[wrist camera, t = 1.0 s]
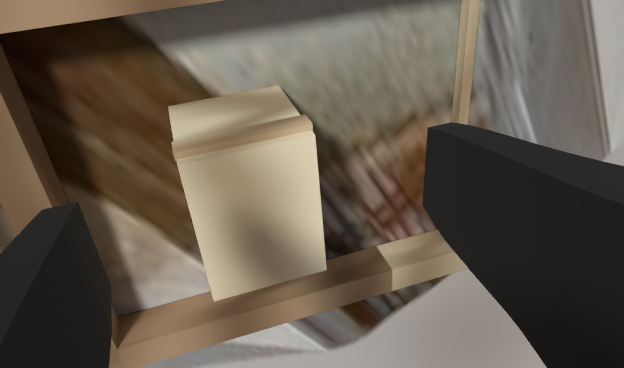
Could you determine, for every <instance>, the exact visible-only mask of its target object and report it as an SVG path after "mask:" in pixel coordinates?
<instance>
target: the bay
mask: <svg viewBox="0 0 624 368" xmlns="http://www.w3.org/2000/svg"><path fill="white" fill-rule="evenodd" d="M217 1H224V0H0V34H2V33H9V32H16V31H23V30H29V29H36V28H43V27H49V26H56V25H63V24H70V23H76V22H83V21H90V20H96V19H103V18H110V17H116V16H123V15H130V14H137V13H143V12H150V11H157V10H163V9H170V8H177V7H184V6H190V5H197V4H204V3H210V2H217ZM479 9H480V0H462V2H461V14H460V26H459V38H458V50H457V62H456V74H455V86H454V98H453V110H452V121H451V123H452V122H454V123H461V124H466V125H468V115H469V105H470V96H471V86H472V77H473V67H474V57H475V48H476V38H477V29H478V19H479ZM0 204H1V206H2V208H3V210H4V212H5V214H6V216H7V218H8V220H9V222H10V223H11V225H12V227H13V229H14V231H15V233H16V235H18V234H19V233H20V232H21V231H22V230H23V229H24V228H25V227H26V226H27V224H28V223H29V222H30V221H31V220H32V219H33V218H34V217H35V216H36V215H37V214H38V213H39V212H40V211H41V210H42V209H47V208H52V207H57V206H61V205H66V204H69V202H68V200H67V197H66V195H65V193H64V190H63V188H62V186H61V183H60V181H59V179H58V176H57V174H56V172H55V169H54V167H53V165H52V162H51V160H50V158H49V155H48V153H47V151H46V148H45V146H44V144H43V141H42V139H41V137H40V134H39V132H38V130H37V127H36V125H35V123H34V120H33V118H32V116H31V113H30V111H29V109H28V106H27V104H26V102H25V99H24V97H23V95H22V92H21V90H20V88H19V85H18V83H17V81H16V78H15V76H14V74H13V71H12V69H11V67H10V64H9V62H8V60H7V57H6V55H5V53H4V50H3V48H2V46H1V43H0ZM326 267H327V270H325V271H321V272H318V273H314V274H311V275H307V276H304V277H300V278H297V279H293V280H289V281H286V282H282V283H279V284H275V285H272V286H268V287H264V288H261V289H257V290H254V291H250V292H247V293H243V294H239V295H236V296H232V297H229V298H225V299H222V300H218V301H214V300H213V299H212V295H211V292H208V293H205V294H201V295H198V296H194V297H190V298H187V299H183V300H179V301H176V302H172V303H168V304H165V305H161V306H158V307H154V308H150V309H147V310H143V311H139V312H136V313H132V314H129V315H125V316H121V317H118V316H117V314H116V312H115V309H114V307H113V305H112V302H111V312H112V338H111V349H110V361H109V368H137V367H140V366H144V365H147V364H150V363H154V362H157V361H160V360H164V359H167V358H170V357H174V356H177V355H180V354H184V353H187V352H190V351H194V350H197V349H200V348H204V347H207V346H210V345H214V344H217V343H220V342H224V341H227V340H231V339H234V338H237V337H241V336H244V335H247V334H251V333H254V332H257V331H261V330H264V329H267V328H271V327H274V326H277V325H281V324H284V323H287V322H291V321H294V320H297V319H301V318H304V317H307V316H311V315H314V314H317V313H321V312H324V311H328V310H331V309H334V308H338V307H341V306H344V305H348V304H351V303H354V302H358V301H361V300H364V299H368V298H371V297H374V296H378V295H381V294H384V293H388V292H391V291H394V290H398V289H401V288H404V287H408V286H411V285H414V284H418V283H421V282H425V281H428V280H431V279H435V278H438V277H441V276H445V275H448V274H451V273H455V272H458V271H461V270H464V269H468V267H467V266H466V265H465V264H464V263H463V261H462V260H461V259H460V258H459V257H458V255H457V254H456V253H455V252H454V251H453V250H452V248H451V247H450V246H449V245H448V244H447V242H446V241H445V240H444V238H443V237H442V235H441V234H440V232H439V231H438V229H437V230H433V231H430V232H426V233H423V234H419V235H415V236H412V237H408V238H404V239H401V240H397V241H393V242H390V243H386V244H383V245H379V246H375V247H372V248H368V249H364V250H361V251H357V252H354V253H350V254H346V255H343V256H339V257H335V258H332V259H328V260H326Z"/></svg>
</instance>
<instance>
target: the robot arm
mask: <svg viewBox="0 0 624 368" xmlns="http://www.w3.org/2000/svg"><path fill="white" fill-rule="evenodd" d="M423 207H424V208H425V210H426V212H427V213H428V215H429V217H430V218H431V220H432V222H433V223H434V225H435V226H436V228H437V229H438V231H439V232H440V234H441V235H442V237H443V238H444V240H445V241H446V242H447V244H448V245H449V246H450V247H451V248H452V250H453V251H454V252H455V253H456V254H457V255H458V257H459V258H460V259H461V260H462V261H463V263H464V264H465V265H466V266H467V267H468V268H469V269H470V271H471V272H472V273H473V274H474V275H475V276H476V278H477V279H478V280H479V281H480V282H481V283H482V284H483V286H484V287H485V288H486V289H487V290H488V291H489V293H490V294H491V295H492V296H493V297H494V298H495V299H496V301H497V302H498V303H499V304H500V305H501V306H502V307H503V309H504V310H505V311H506V312H507V313H508V315H509V316H510V317H511V318H512V320H513V321H514V322H515V323H516V325H517V326H518V327H519V328H520V330H521V331H522V332H523V334H524V335H525V337H526V338H527V340H528V341H529V342H530V344H531V345H532V347H533V348H534V350H535V351H536V352H537V354H538V355H539V357H540V358H541V360H542V361H543V362H544V364H545V365H546V367H547V368H624V166H620V165H616V164H611V163H607V162H603V161H599V160H595V159H590V158H586V157H582V156H578V155H574V154H571V153H567V152H563V151H559V150H556V149H552V148H549V147H545V146H542V145H538V144H535V143H531V142H528V141H524V140H521V139H518V138H514V137H511V136H507V135H504V134H500V133H497V132H493V131H490V130H486V129H482V128H479V127H475V126H470V125H466V124H461V123H454V122H452V123H447V124H442V125H438V126H433V127H428V133H427V147H426V162H425V176H424V191H423ZM111 338H112V312H111V294H110V282H109V280H108V277H107V275H106V272H105V270H104V267H103V265H102V262H101V260H100V257H99V255H98V252H97V250H96V247H95V245H94V242H93V240H92V237H91V235H90V232H89V230H88V227H87V224H86V222H85V219H84V217H83V214H82V212H81V209H80V207H79V204H78V202H75V203H71V204H66V205H61V206H57V207H52V208H47V209H42V210H41V211H40V212H39V213H38V214H37V215H36V216H35V217H34V218H33V219H32V220H31V221H30V222H29V223H28V224H27V226H26V227H25V228H24V229H23V230H22V231H21V232H20V233H19V234H18V235H17V237H16V238H15V239H14V240H13V241H12V242H11V243H10V244H9V245H8V247H7V248H6V249H5V250H4V251H3V252H2V253H1V254H0V368H109V361H110V349H111Z"/></svg>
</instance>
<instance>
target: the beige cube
mask: <svg viewBox="0 0 624 368" xmlns="http://www.w3.org/2000/svg"><path fill="white" fill-rule="evenodd" d="M168 109H169V115H170V122H171V128H172V134H173V140H174V142H172V149H173V154H174V158H175V161H177V165H178V169H179V173H180V176H181V180H182V184H183V188H184V191H185V195H186V199H187V203H188V206H189V210H190V214H191V217H192V221H193V225H194V229H195V232H196V236H197V240H198V244H199V247H200V251H201V255H202V259H203V262H204V266H205V270H206V273H207V277H208V281H209V285H210V291H211V295H212V299H213V300H214V301H218V300H222V299H225V298H229V297H232V296H236V295H239V294H243V293H247V292H250V291H254V290H257V289H261V288H264V287H268V286H272V285H275V284H279V283H282V282H286V281H289V280H293V279H297V278H300V277H304V276H307V275H311V274H314V273H318V272H321V271H325V270H327V267H326V255H325V244H324V232H323V220H322V208H321V197H320V185H319V173H318V161H317V150H316V138H315V134H314V133H313V124H312V122H311V121H310V119H309V118H308V117H307V115H306V114H304V115H300V114H299V112H298V111H297V110H296V108H295V107H294V105H293V104H292V103H291V101H290V100H289V99H288V97H287V96H286V94H285V93H284V92H283V90H282V89H281V88H280V86H279V85H278V86H272V87H267V88H262V89H257V90H252V91H246V92H241V93H236V94H231V95H226V96H220V97H215V98H210V99H205V100H199V101H194V102H189V103H184V104H179V105H173V106H168Z"/></svg>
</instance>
